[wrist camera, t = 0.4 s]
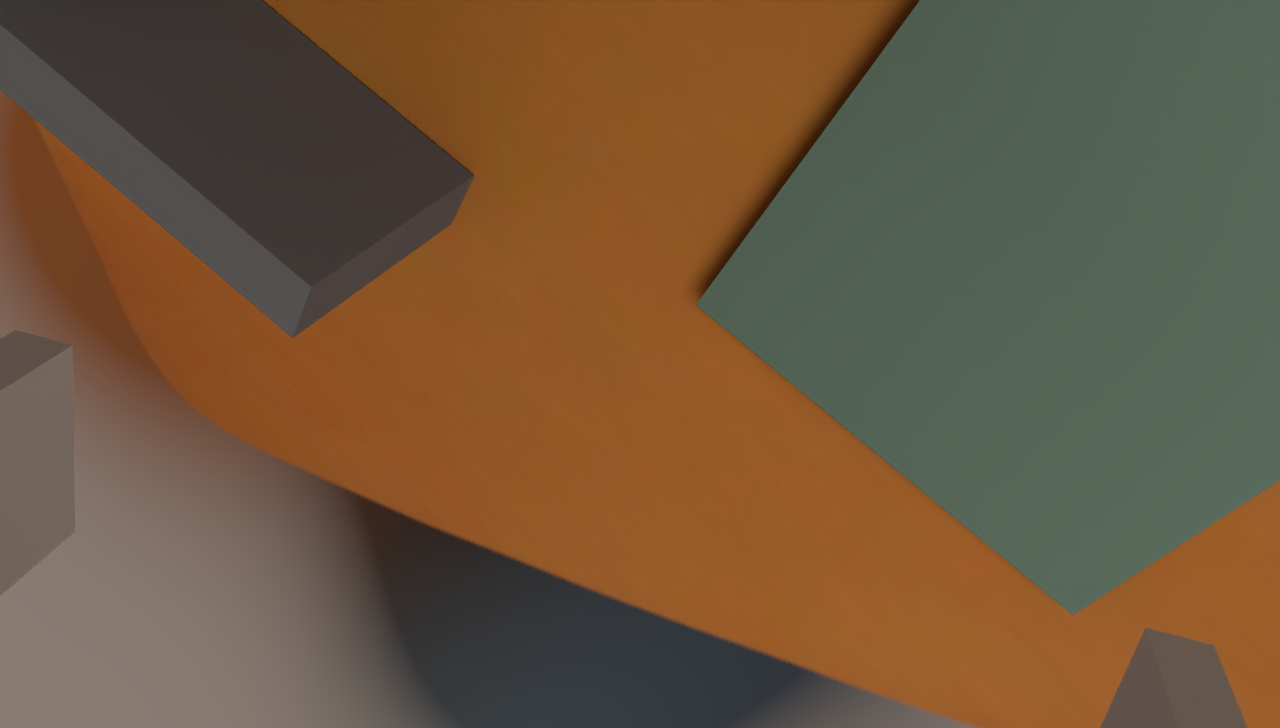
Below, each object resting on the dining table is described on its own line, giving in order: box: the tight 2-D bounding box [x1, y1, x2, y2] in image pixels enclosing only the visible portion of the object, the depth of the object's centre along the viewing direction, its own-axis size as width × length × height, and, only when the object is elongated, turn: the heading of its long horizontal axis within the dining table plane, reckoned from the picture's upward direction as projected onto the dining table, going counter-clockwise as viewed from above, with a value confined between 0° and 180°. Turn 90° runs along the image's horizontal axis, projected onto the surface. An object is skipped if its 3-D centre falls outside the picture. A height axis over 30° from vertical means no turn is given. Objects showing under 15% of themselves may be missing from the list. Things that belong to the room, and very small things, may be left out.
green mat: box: [696, 0, 1280, 615], centre depth 24 cm, size 18×12×1 cm, turn 152°
